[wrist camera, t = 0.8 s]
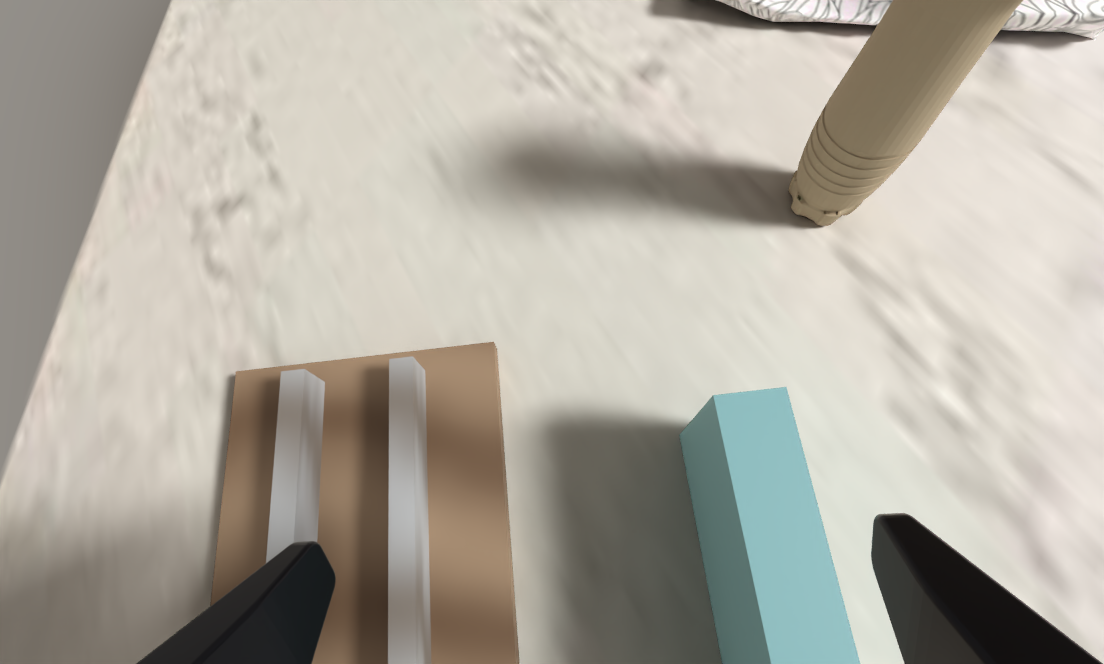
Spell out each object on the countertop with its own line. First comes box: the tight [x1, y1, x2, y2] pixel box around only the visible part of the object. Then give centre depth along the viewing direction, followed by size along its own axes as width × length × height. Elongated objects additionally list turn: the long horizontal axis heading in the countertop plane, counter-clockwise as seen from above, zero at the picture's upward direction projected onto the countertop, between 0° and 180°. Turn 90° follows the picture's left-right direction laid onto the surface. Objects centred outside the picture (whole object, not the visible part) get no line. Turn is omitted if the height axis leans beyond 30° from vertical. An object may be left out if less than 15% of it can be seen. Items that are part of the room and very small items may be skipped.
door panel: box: [679, 387, 860, 664], centre depth 19 cm, size 14×2×7 cm, turn 6°
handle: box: [789, 0, 1023, 226], centre depth 22 cm, size 5×6×15 cm
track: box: [210, 342, 519, 664], centre depth 21 cm, size 22×12×3 cm, turn 6°
